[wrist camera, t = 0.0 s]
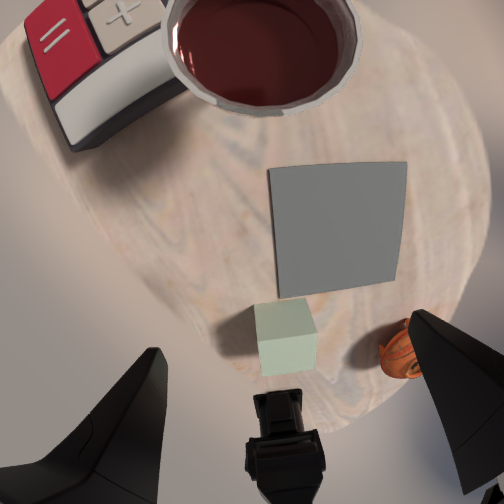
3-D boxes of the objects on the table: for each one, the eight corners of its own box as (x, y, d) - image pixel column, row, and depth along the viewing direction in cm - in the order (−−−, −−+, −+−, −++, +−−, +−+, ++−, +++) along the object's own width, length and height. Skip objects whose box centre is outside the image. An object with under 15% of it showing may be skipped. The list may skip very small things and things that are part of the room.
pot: (379, 368, 33) (393, 402, 26) (365, 326, 31) (381, 360, 25) (429, 342, 31) (450, 371, 25) (421, 298, 30) (446, 325, 23)
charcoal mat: (393, 279, 26) (394, 280, 26) (279, 297, 26) (280, 298, 26) (405, 161, 21) (407, 162, 20) (269, 168, 21) (269, 169, 20)
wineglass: (234, 134, 19) (230, 158, 9) (184, 63, 16) (124, 11, 6) (312, 90, 18) (397, 71, 7) (263, 19, 15) (293, -67, 4)
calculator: (128, -63, 7) (206, 64, 13) (144, -41, 11) (213, 77, 17) (17, 20, 9) (66, 156, 15) (44, 29, 13) (94, 149, 19)
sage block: (305, 333, 29) (315, 369, 24) (258, 340, 29) (262, 376, 24) (305, 297, 27) (317, 332, 22) (253, 304, 27) (257, 341, 22)
